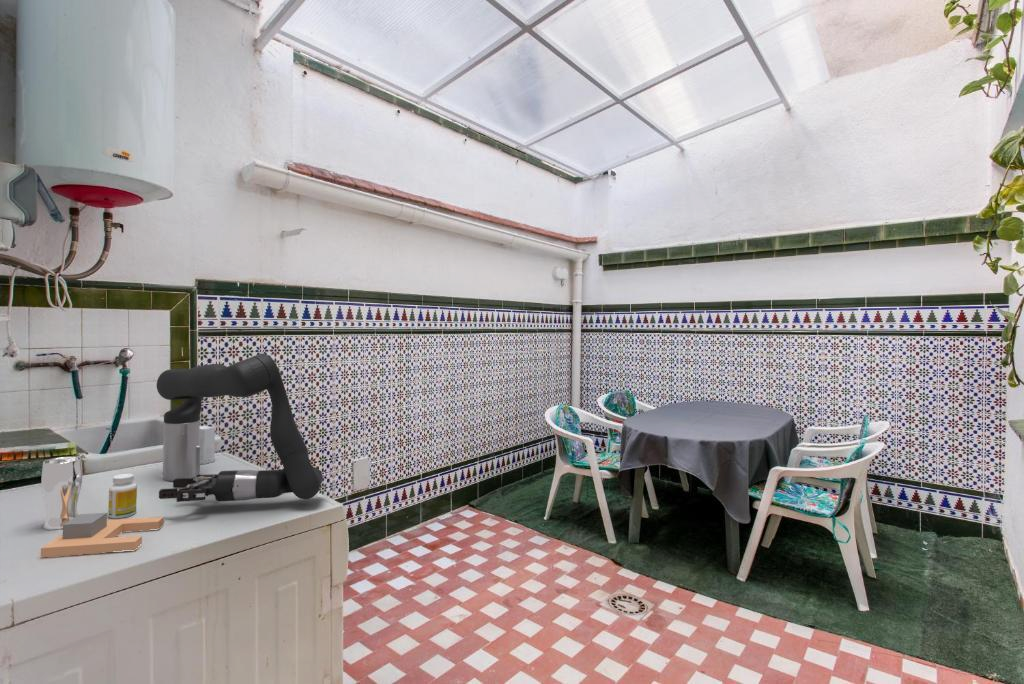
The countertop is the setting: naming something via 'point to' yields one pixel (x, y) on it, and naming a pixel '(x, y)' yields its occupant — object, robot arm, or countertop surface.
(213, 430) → the skincare box
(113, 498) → the supplement bottle
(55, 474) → the beer glass
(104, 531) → the orange forked bracket
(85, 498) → the countertop surface
